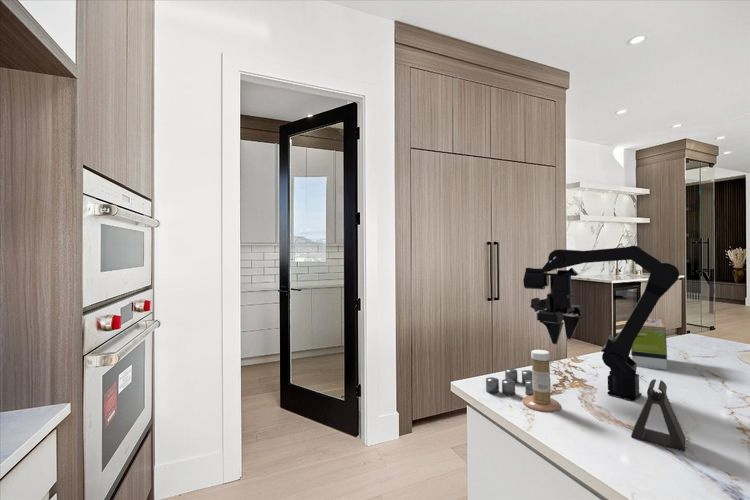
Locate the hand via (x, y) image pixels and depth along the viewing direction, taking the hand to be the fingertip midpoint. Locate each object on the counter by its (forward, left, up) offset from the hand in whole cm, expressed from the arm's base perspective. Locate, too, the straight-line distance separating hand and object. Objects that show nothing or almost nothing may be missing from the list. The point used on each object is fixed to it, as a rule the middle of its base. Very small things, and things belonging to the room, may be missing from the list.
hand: (561, 341), depth 111 cm
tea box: (-10, -43, -13) cm, 46 cm away
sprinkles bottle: (-3, +19, -13) cm, 23 cm away
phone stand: (-28, +17, -13) cm, 35 cm away
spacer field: (+7, +14, -13) cm, 20 cm away
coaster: (-3, +19, -13) cm, 23 cm away
